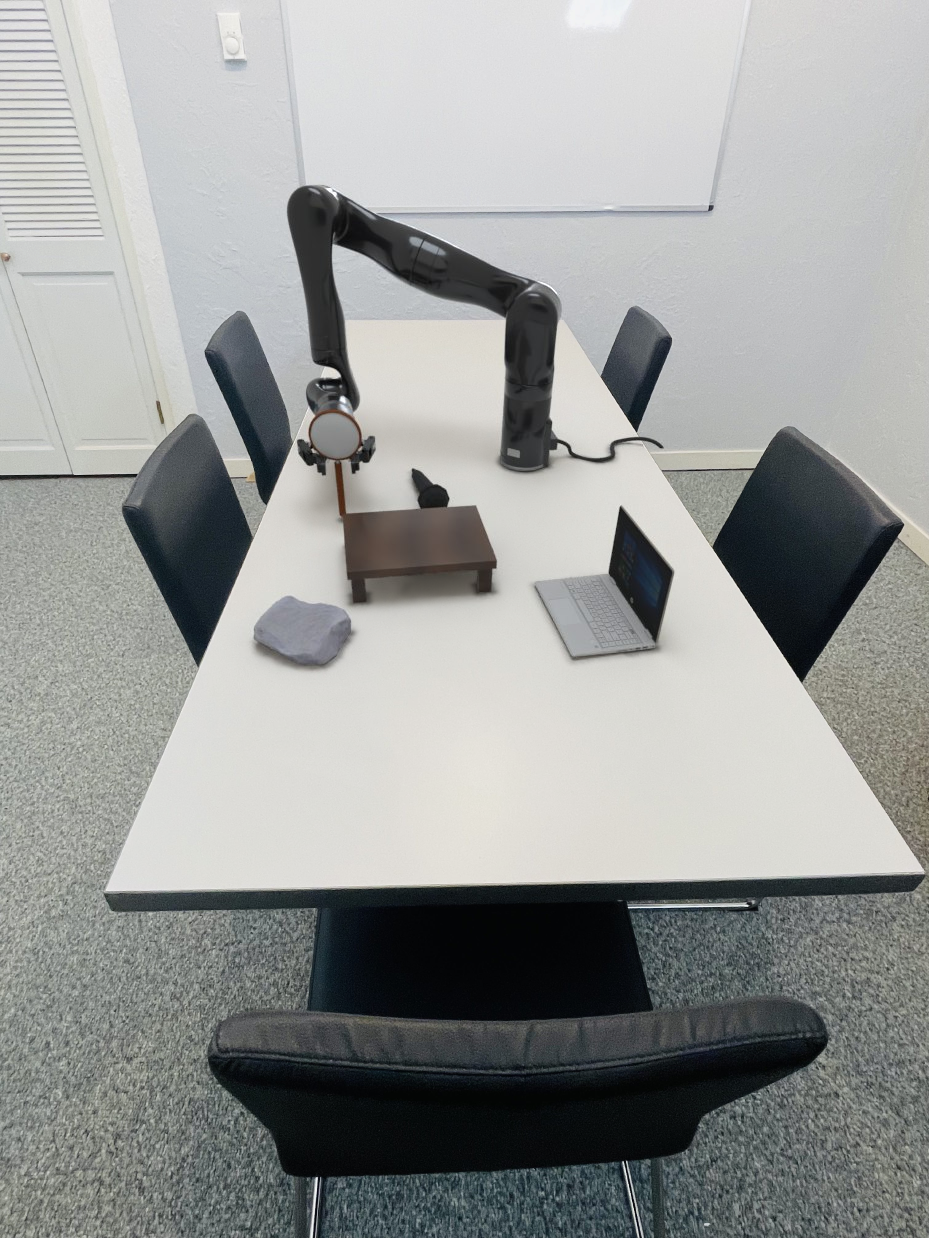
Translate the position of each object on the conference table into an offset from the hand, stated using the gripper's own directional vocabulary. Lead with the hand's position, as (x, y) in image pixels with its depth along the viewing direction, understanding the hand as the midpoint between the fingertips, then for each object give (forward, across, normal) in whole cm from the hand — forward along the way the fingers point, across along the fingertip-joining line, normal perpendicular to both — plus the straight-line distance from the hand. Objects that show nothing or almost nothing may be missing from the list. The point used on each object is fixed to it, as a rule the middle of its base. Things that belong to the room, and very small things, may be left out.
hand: (338, 469), depth 116 cm
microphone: (-10, +16, +11) cm, 22 cm away
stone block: (+30, -7, +11) cm, 33 cm away
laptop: (+30, +35, +11) cm, 48 cm away
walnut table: (+14, +11, +11) cm, 21 cm away
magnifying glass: (-3, 0, +11) cm, 12 cm away
